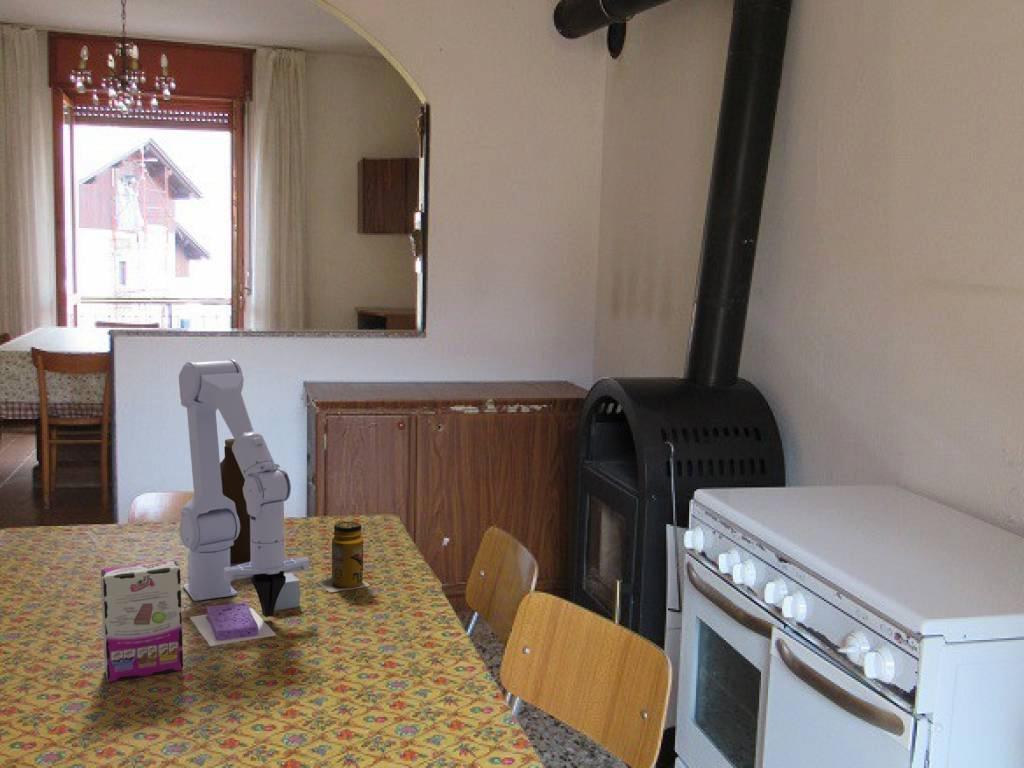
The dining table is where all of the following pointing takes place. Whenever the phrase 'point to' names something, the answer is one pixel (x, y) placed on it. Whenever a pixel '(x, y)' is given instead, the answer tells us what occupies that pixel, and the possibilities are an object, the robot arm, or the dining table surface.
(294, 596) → the cube
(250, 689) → the dining table surface
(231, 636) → the sponges
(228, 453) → the olive oil
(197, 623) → the letter
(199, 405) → the robot arm
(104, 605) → the candy bar box
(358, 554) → the condiment
